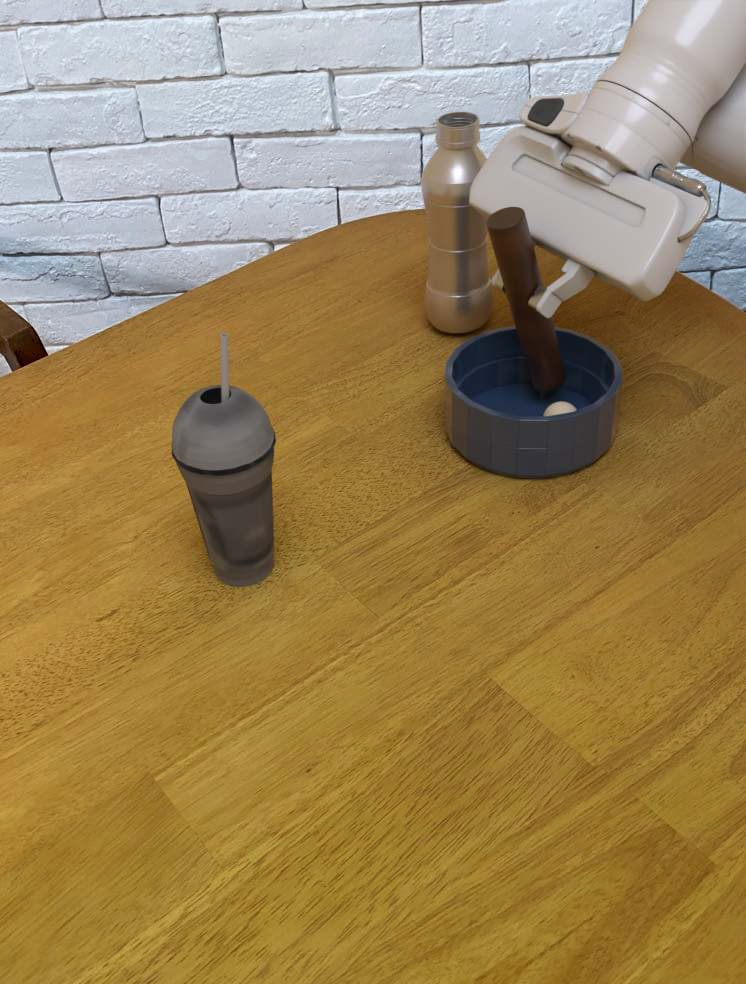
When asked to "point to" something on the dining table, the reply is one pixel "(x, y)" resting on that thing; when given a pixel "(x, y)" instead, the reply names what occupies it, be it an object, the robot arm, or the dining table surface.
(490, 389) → the bowl
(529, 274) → the stick
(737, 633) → the dining table surface
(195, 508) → the beverage cup
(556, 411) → the dough ball
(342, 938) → the dining table surface
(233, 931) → the dining table surface
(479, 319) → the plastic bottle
